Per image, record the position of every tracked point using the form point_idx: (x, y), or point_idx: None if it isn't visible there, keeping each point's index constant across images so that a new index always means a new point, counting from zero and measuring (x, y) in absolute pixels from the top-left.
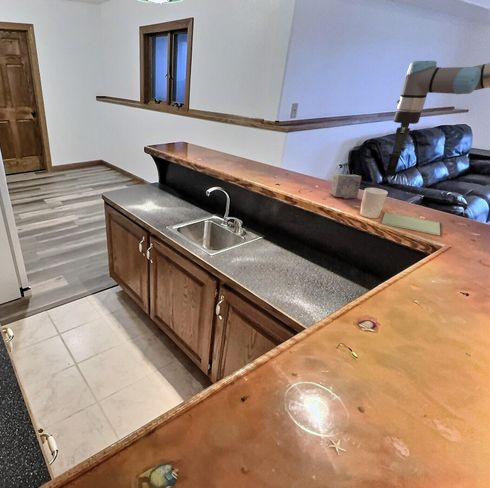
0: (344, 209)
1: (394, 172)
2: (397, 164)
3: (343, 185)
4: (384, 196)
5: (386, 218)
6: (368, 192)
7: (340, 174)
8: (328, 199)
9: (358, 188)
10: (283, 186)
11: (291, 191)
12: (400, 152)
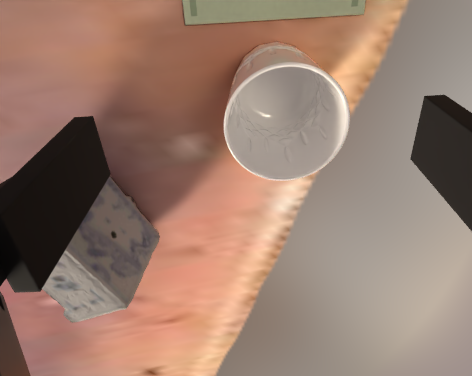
0: None
1: (458, 109)
2: (79, 131)
3: (126, 252)
4: (321, 68)
5: (284, 3)
6: (334, 154)
7: (82, 305)
8: (183, 240)
9: None
10: (156, 359)
11: (189, 334)
12: (14, 210)
